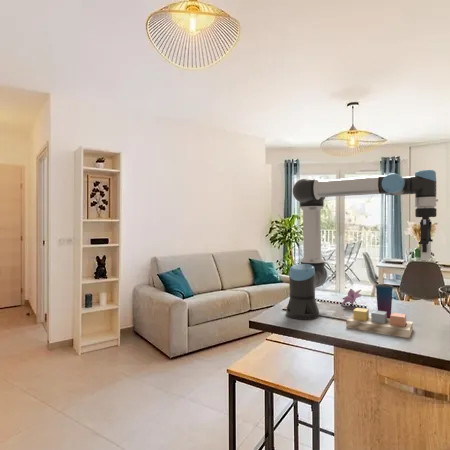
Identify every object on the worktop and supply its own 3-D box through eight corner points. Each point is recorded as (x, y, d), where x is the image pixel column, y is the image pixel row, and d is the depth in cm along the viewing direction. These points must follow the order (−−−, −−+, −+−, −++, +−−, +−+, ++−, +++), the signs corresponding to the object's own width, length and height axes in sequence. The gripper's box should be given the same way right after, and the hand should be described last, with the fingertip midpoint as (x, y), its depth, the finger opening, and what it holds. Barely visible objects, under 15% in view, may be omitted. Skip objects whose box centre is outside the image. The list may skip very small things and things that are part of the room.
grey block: (371, 322, 134) (371, 312, 134) (373, 319, 138) (373, 310, 138) (384, 324, 131) (384, 314, 131) (386, 321, 135) (386, 311, 135)
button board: (346, 327, 137) (346, 320, 136) (353, 319, 146) (353, 313, 146) (409, 338, 123) (409, 330, 123) (412, 329, 133) (412, 321, 133)
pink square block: (390, 325, 130) (390, 315, 130) (392, 322, 134) (392, 312, 134) (404, 327, 127) (404, 317, 127) (406, 324, 131) (406, 314, 131)
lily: (366, 307, 171) (358, 289, 175) (371, 303, 160) (362, 285, 164) (343, 314, 172) (336, 296, 175) (347, 311, 161) (339, 292, 165)
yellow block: (353, 319, 138) (353, 310, 138) (356, 316, 142) (356, 307, 142) (366, 321, 135) (366, 312, 135) (368, 318, 139) (368, 309, 139)
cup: (395, 321, 143) (394, 287, 143) (378, 321, 144) (378, 287, 144) (390, 317, 150) (390, 284, 149) (374, 316, 151) (374, 283, 151)
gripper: (434, 206, 124) (435, 262, 125) (437, 207, 145) (438, 256, 145) (412, 207, 129) (412, 261, 129) (418, 208, 149) (418, 255, 149)
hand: (426, 258), depth 137 cm, fingers open, 13 cm apart
